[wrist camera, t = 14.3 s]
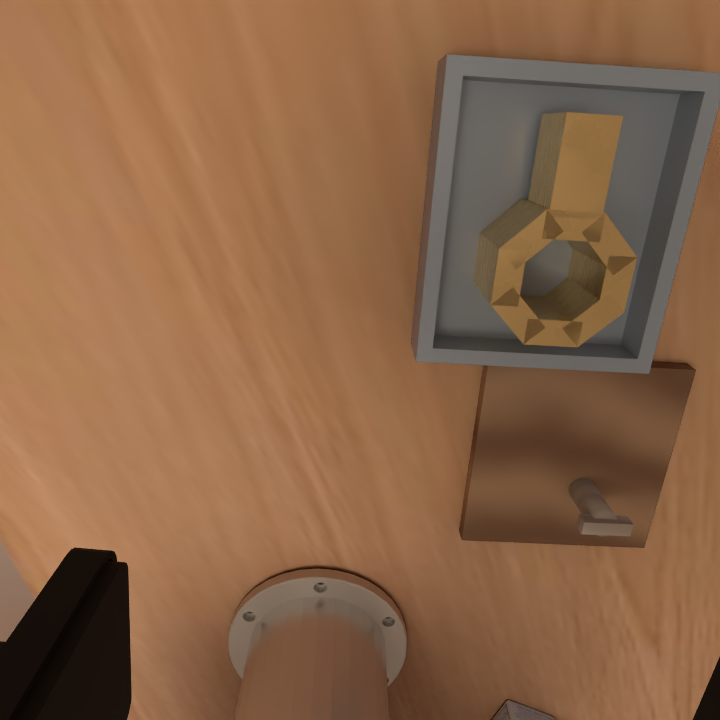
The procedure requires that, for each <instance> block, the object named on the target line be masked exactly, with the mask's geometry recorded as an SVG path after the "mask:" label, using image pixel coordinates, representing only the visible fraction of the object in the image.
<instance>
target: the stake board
mask: <svg viewBox="0 0 720 720" xmlns="http://www.w3.org/2000/svg"><path fill="white" fill-rule="evenodd" d="M695 372H696V370H695V369H694V368H692V367H691V366H690V365H688V364H686V363H667V362H652V364H651V368H650V372H649V374H643V373H624V372H605V371H585V370H566V369H547V368H527V367H508V366H489V365H483V372H482V379H481V386H480V393H479V399H478V406H477V413H476V420H475V426H474V433H473V440H472V447H471V454H470V460H469V467H468V474H467V481H466V488H465V494H464V501H463V508H462V515H461V521H460V528H459V531H460V535H461V539H462V540H472V541H495V542H519V543H542V544H565V545H589V546H612V547H636V548H644V546H645V543H646V540H647V536H648V533H649V529H650V526H651V523H652V519H653V516H654V512H655V509H656V505H657V502H658V499H659V495H660V492H661V488H662V485H663V481H664V478H665V475H666V471H667V468H668V464H669V461H670V458H671V454H672V451H673V447H674V444H675V440H676V437H677V434H678V430H679V427H680V423H681V420H682V416H683V413H684V410H685V406H686V403H687V399H688V396H689V392H690V389H691V386H692V382H693V379H694V375H695Z"/></svg>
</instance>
